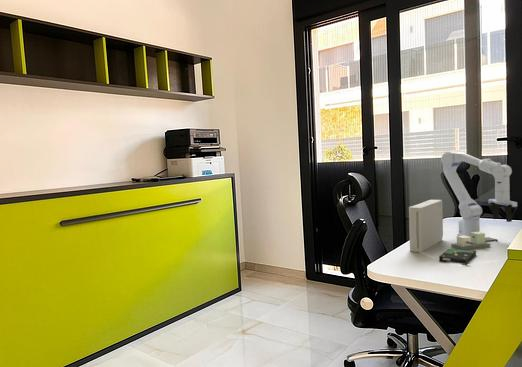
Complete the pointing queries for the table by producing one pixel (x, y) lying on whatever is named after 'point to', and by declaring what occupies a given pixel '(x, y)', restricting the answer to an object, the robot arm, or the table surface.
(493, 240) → the phone
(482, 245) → the grey double frame
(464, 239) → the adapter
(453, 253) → the disk drive
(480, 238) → the block
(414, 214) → the game console
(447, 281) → the table surface
